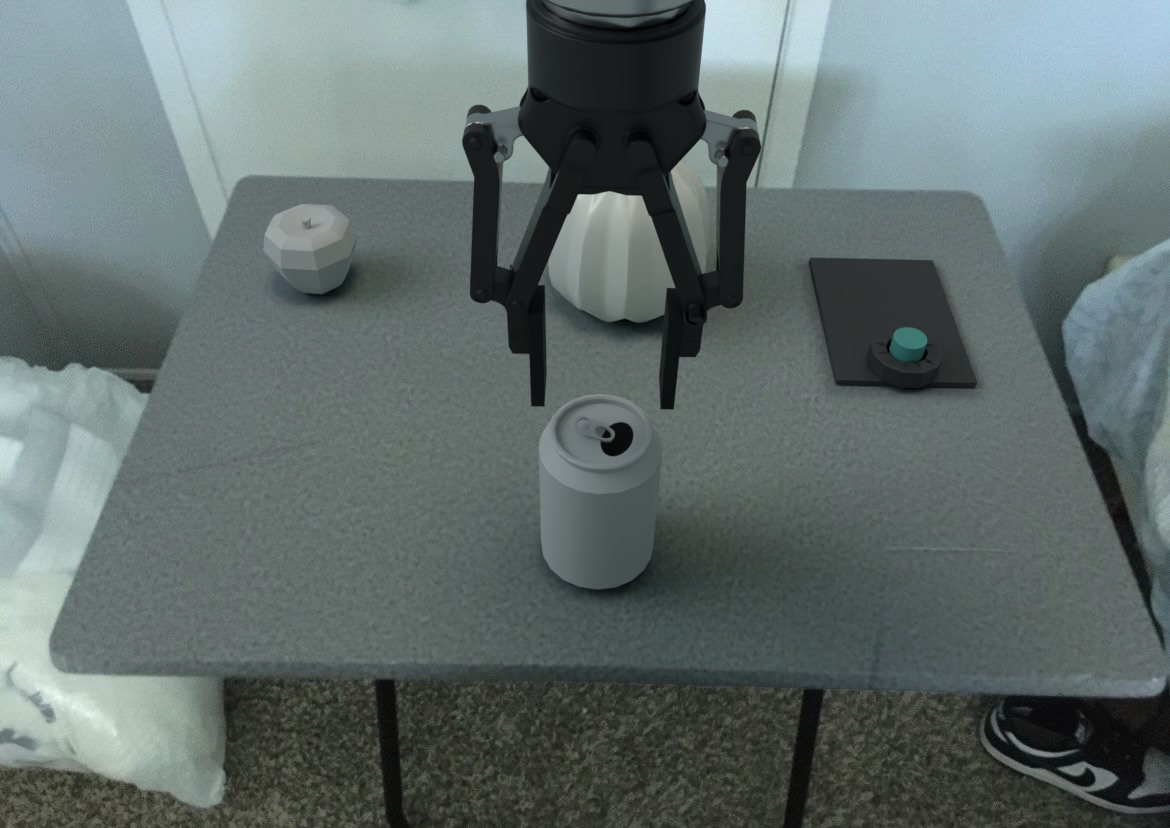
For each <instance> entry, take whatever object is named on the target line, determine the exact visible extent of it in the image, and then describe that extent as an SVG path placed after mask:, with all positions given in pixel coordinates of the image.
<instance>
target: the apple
mask: <svg viewBox="0 0 1170 828" xmlns="http://www.w3.org/2000/svg"><path fill="white" fill-rule="evenodd" d="M358 236H359V234H358V233H357V230H356V229H355V227H354V225H353V223H352V221H351V219H350V218H348V216H346V215H344V214H343V213H342V212H341V211H340V210H339V209H337V208H336V207H335V206H334V205H331V204H315V203H314V204H313V203H300V204H298V205H295V206H293V207H291V208H288V209H286V210H285V209H284V210H283V211H281V212H278V213H276V214H274V215H273V217H272V218H271V221H270V223H269V225H268V227H267V229H266V231H265V233H264V235H263V248H262V251H263V253H264V254H265V256H266V258H267V259H268V261H270V263H271V265H272V266H273V267H274V269H275V270H276V271H277V272H278V273H279V274H280V275H281V277H283V278H284V279H285V280H286V281H287V282H288V283H289V284H290V285H291V286H292V287H293V288H294V289H296V290H297V291H298V292H300V293H303V294H312V295H324V294H326V293H328V292H330V291H333V290H335V289H337V288H338V287H340V286H341V285H342V284H343V283H344V281H345V279H346V277H347V275H348V273H349V271H350V268H351V264H352V262H353V259H354V256H355V253H356V252H355V251H356V246H357V242H358Z"/></svg>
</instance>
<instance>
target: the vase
mask: <svg viewBox="0 0 1170 828" xmlns="http://www.w3.org/2000/svg"><path fill="white" fill-rule="evenodd" d="M671 174H672V179H673V183H674V186H675V189H676V192H677V196H678V199H679V202H680V205H681V208H682V211H683V214H684V218H685V221H686V224H687V227H688V230H689V233H690V237H691V240H692V243H693V246H694V249H695V252H696V256H697V259H698V262H699V265H700V268H701V271H702V274H703V273H706V268H707V259H708V255H709V252H710V247H711V239H712V232H711V230H712V228H711V213H710V204H709V199H708V198H709V197H708V195H707V189H706V188H705V186H704V183H703V181H702V178H701V177H700V176H699V175H698V174H697V173H696V172H695V171H693V170H692V169H691V167H689V166H688V164H687V162H686V160H685V159H684V157H683V158H682V159H681V161H680V162H679V163H678V164H677V165H676V166H675V167H674V168H673V169H672V170H671ZM547 265H548V276H549V280H550V281H549V282H550V285H551V286H552V287H553V288H554V289H555V290H556V291H557V292H558V293H559V294H560V295H561V296H562V297H563V298H565V299H566V301H568V302H569V303H570V304H571V305H572V306H574V307H575V308H576V309H577V310H579V311H584V312H586V313H588V314H590V315H591V316H593V317H595V318H597V319H598V320H601V321H603V322H606V323H612V322H617V321H621V320H625V319H626V320H628V321H631V322H634V323H637V324H643V323H646V322H649V321H652V320H654V319H656V318H659V317H662V316H664V313H665V302H666V290H667V288H675V285H674V282H673V280H672V277H671V274H670V271H669V268H668V265H667V262H666V259H665V256H664V253H663V250H662V247H661V245H660V242H659V239H658V236H657V233H656V230H655V227H654V224H653V221H652V218H651V216H649V215H648V212H647V209H646V206H645V203H644V200H643V198H642V196H630V195H623V194H619V193H615V192H611V191H609V192H604V193H599V194H594V195H584V194H578V196H577V198H576V201H575V203H574V205H573V208H572V210H571V212H570V214H568V215H567V217H566V219H565V222H564V224H563V226H562V229H561V231H560V233H559V236H558V238H557V241H556V243H555V245H554V248H553V250H552V253H551V255H550V257H549V260H548V262H547Z"/></svg>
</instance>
